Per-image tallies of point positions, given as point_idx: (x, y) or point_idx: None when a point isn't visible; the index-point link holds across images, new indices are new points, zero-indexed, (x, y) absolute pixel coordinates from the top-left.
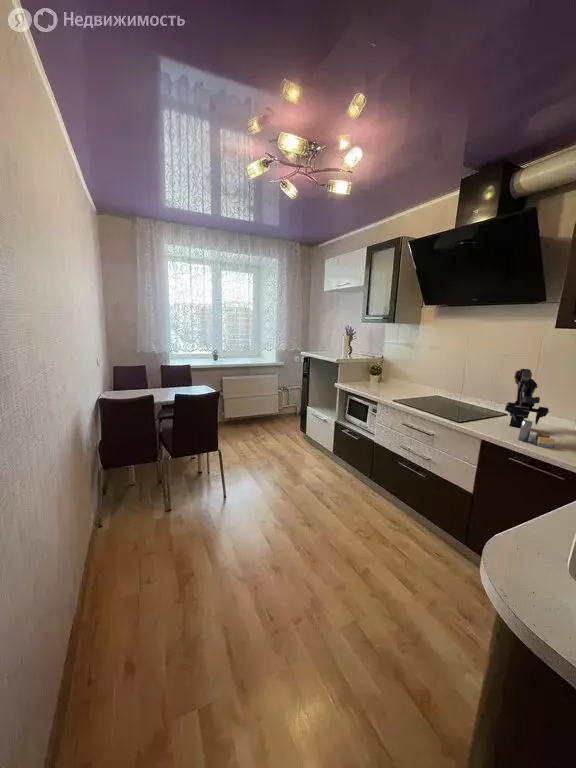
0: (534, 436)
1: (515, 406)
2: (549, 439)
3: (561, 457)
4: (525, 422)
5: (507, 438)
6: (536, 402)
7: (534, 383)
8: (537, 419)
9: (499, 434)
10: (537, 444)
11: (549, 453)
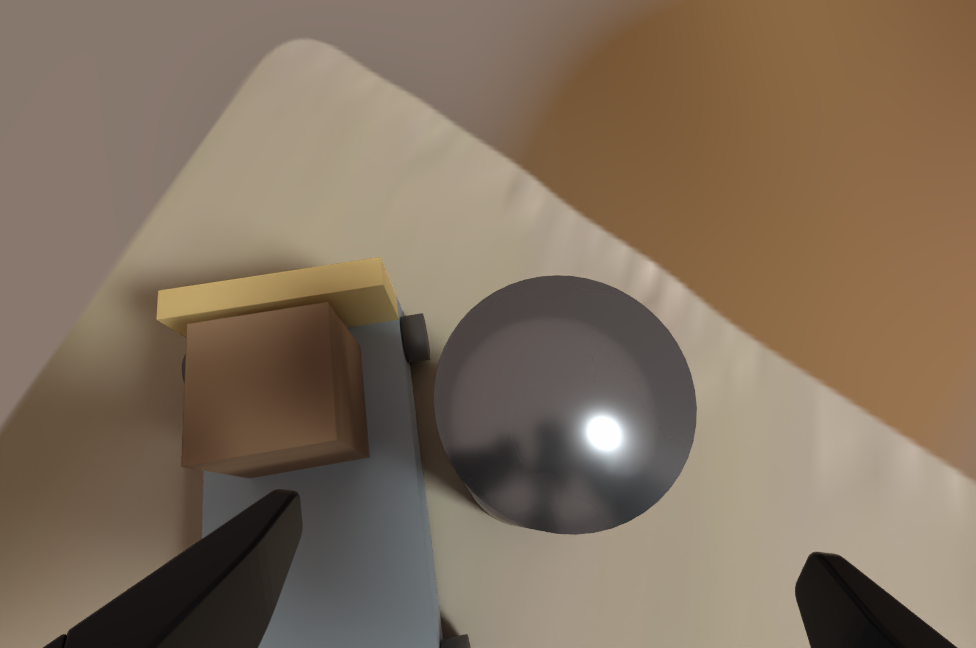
0: (326, 613)
1: None
2: (242, 287)
3: (289, 108)
4: (625, 304)
5: (716, 465)
6: None
7: None
8: (186, 589)
9: None
10: (401, 316)
11: (360, 158)
